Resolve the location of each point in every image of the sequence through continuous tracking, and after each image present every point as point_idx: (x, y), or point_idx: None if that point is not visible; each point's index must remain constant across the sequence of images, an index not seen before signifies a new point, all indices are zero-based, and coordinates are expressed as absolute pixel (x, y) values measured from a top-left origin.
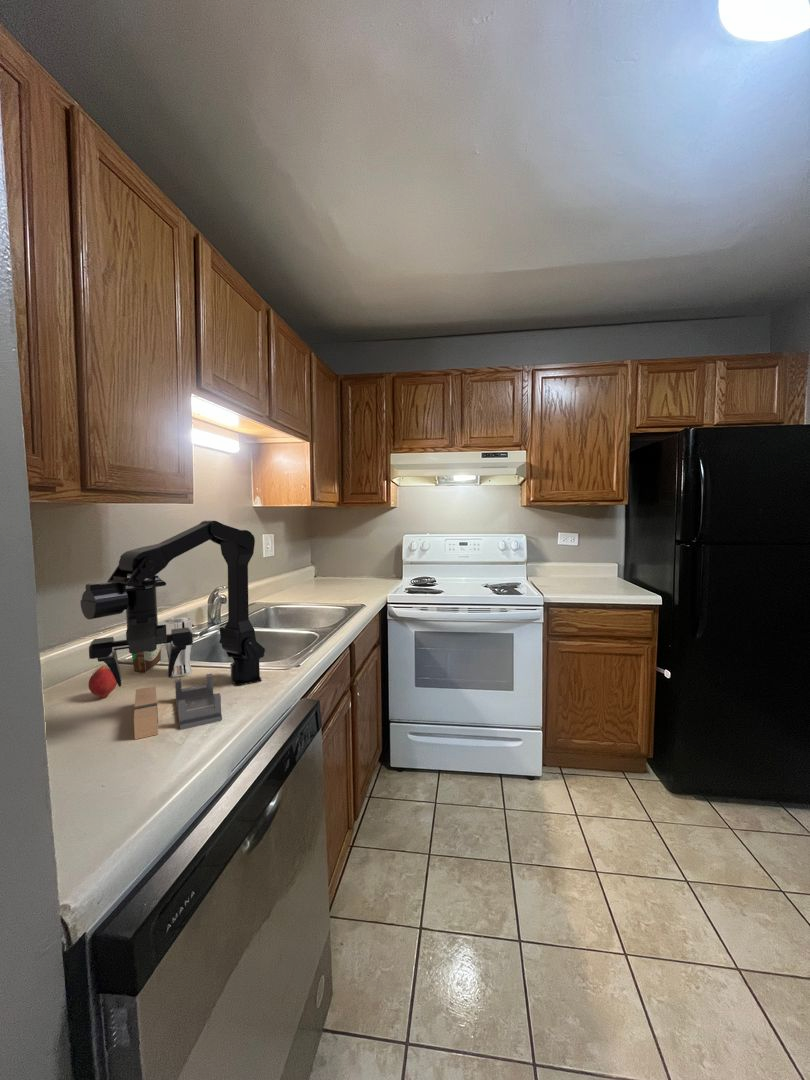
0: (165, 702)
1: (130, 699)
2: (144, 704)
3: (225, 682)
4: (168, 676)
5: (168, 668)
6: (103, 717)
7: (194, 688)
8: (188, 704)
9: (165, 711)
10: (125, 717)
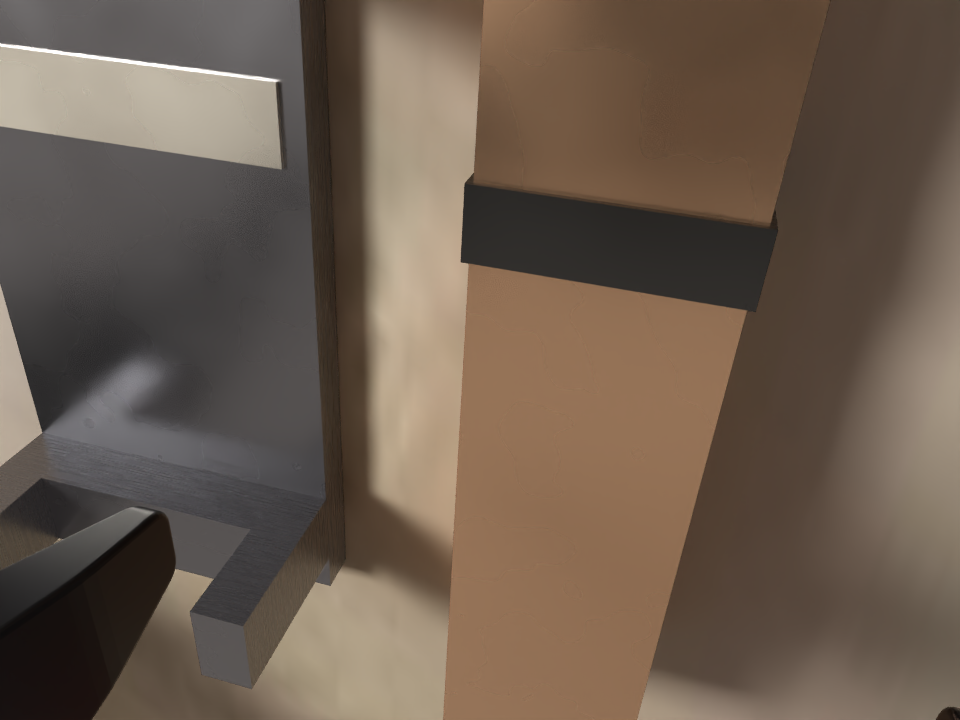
0: (422, 551)
1: None
2: (613, 323)
3: None
4: (158, 548)
5: (53, 668)
6: (939, 614)
7: None
8: (220, 312)
9: (434, 376)
10: (773, 487)
